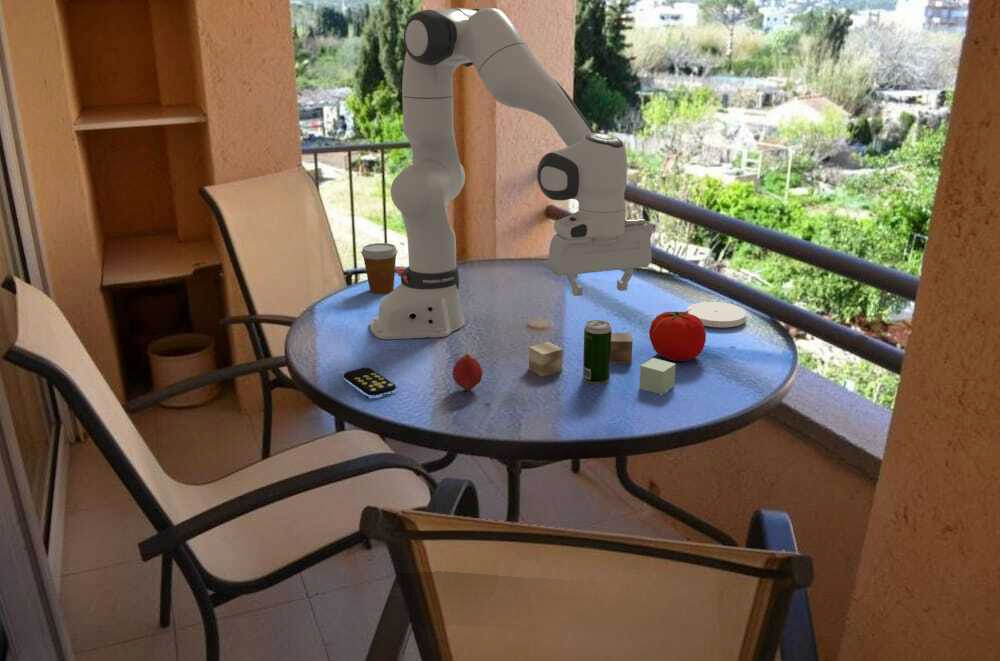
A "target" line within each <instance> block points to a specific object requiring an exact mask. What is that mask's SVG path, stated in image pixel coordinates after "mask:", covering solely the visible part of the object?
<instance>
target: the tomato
mask: <svg viewBox="0 0 1000 661" xmlns="http://www.w3.org/2000/svg"><path fill="white" fill-rule="evenodd" d="M691 310H692V309H691ZM689 311H690V310H689ZM649 327H650V328H649V331H648V333H649V340H650V343H651V346H652V347H653V349H654V351H655V352H656V354H658V355H659V356H661V357H663V358H665V359H666V360H671V361H686V362H687V361H690V360H694V359H695V358H697V357H698V356H699V355H700V354H701V353H702V352H703V350H704V348H705V344H706V339H707V333H706V329H705V326H704V325H703V322H702V321H701V320H700V319H699V318H698V317H696V316H694V315H691V314H689V313H688V311H664V312H662V313H660V314H658V315H656V317H654V319H653V320H652V321H651V324H650V326H649Z"/></svg>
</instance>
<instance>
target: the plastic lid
mask: <svg viewBox="0 0 1000 661" xmlns="http://www.w3.org/2000/svg"><path fill="white" fill-rule="evenodd" d="M691 309H692V310H691ZM689 310H690V311H689ZM686 311H688V313H689V314H691V315H694V316H696V317H698V318H699V319H700V320H701V321H702V322H703V326H704V327H709V328H710V327H711V328H721V329H722V328H733V327H738V326H741V325H743V324H745V322H746V321H747V315H748V314H747V311H746V310H745V309H744V308H742V307H740V306H738V305H735V304H730V303H727V302H717V301H703V302H696V303H692V304H691V305H688V306H687V307H686ZM686 311H685V312H686Z"/></svg>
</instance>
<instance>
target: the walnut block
mask: <svg viewBox="0 0 1000 661" xmlns="http://www.w3.org/2000/svg"><path fill="white" fill-rule="evenodd" d="M632 338H633V337H632V334H631V332H612V333H611V357H610V364H632V360H633V339H632Z"/></svg>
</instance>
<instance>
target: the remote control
mask: <svg viewBox="0 0 1000 661" xmlns="http://www.w3.org/2000/svg"><path fill="white" fill-rule="evenodd" d="M344 378H345V379H346V380H348V381H349V382H351V383H352V384H353V385H355V386H356V387H358V388H359V389H361V390H362V391H363V392H365V393H366V394H368V395H372V396H373V395H374V396H376V395H380V394H384V393H388V392H392V391H394V390H395V389H396V390H397V386H396V384H394V383H393V382H391V381H390V380H388V378H385V377H384V376H383V375H381V374H380V373H378V372H377V371H375V370H374V369H372V368H370V367H361V368H357V369H352V370H348V371H346V372H345V373H344V374H343V379H344Z"/></svg>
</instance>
